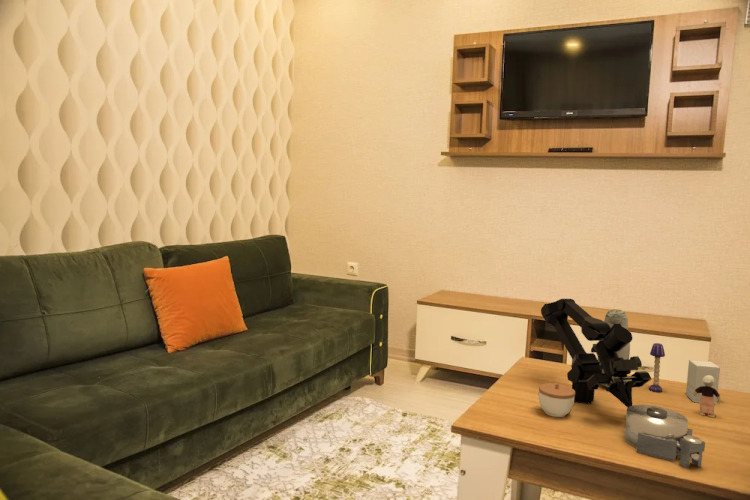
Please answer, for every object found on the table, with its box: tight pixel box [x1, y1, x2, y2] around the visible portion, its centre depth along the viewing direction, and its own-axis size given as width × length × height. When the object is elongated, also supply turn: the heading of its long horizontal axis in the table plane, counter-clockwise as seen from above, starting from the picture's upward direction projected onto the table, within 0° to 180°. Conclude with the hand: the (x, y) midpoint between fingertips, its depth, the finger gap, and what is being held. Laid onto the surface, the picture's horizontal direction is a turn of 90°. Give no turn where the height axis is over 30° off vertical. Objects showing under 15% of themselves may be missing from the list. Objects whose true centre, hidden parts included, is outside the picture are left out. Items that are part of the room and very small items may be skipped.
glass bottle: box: [597, 309, 631, 388], centre depth 195 cm, size 10×10×28 cm
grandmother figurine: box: [693, 375, 723, 418], centre depth 173 cm, size 8×4×13 cm, turn 65°
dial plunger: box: [676, 441, 700, 461], centre depth 140 cm, size 7×2×2 cm, turn 14°
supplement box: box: [685, 359, 721, 405], centre depth 186 cm, size 7×7×13 cm
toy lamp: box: [648, 342, 666, 393], centre depth 194 cm, size 5×5×17 cm
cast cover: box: [623, 404, 689, 456], centre depth 151 cm, size 15×15×9 cm
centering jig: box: [636, 428, 706, 469], centre depth 142 cm, size 12×17×7 cm
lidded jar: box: [538, 382, 575, 418], centre depth 170 cm, size 11×11×9 cm
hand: (630, 407), depth 160 cm, fingers closed
